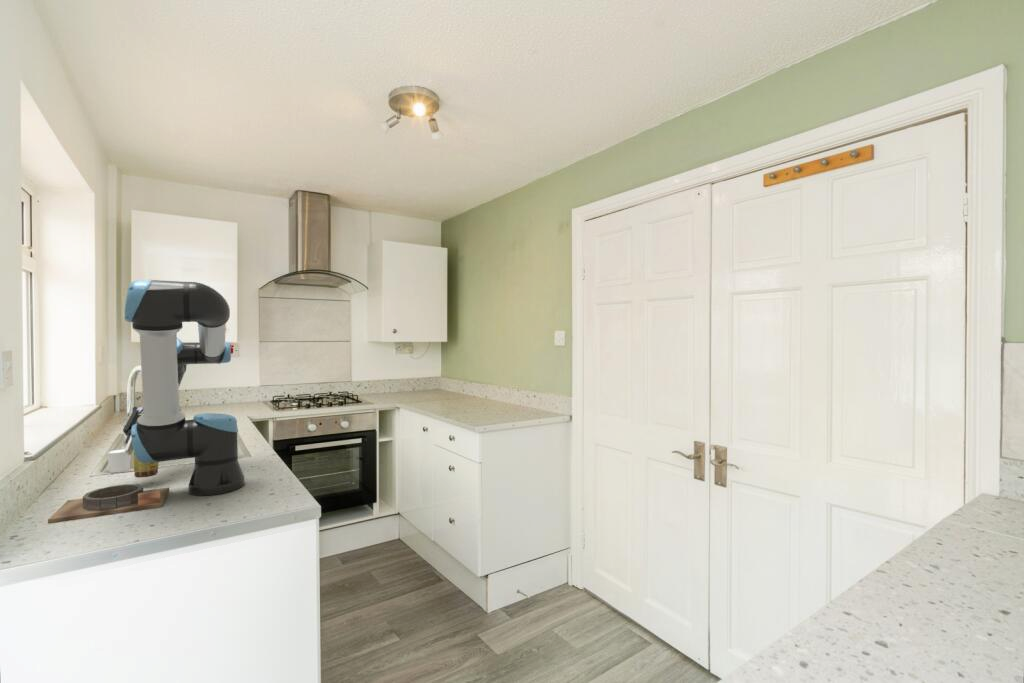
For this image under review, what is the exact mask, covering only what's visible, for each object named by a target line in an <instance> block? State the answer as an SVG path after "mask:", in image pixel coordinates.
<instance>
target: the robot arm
mask: <svg viewBox="0 0 1024 683" xmlns="http://www.w3.org/2000/svg"><path fill="white" fill-rule="evenodd" d="M230 313H231V312H230V306H229V303H228V302H227V300H226V299H225V297H224V296H223V295H222V294H221V293H220V292H218V291H217V289H216V290H215V289H214V288H212V287H210V286H209V285H207V284H204V283H201V282H196V281H178V280H173V281H172V280H160V279H159V280H158V279H144V280H143V279H142V280H141V279H139V280H137V279H136V280H134V281H132V282H131V283H130V284H129V286H128V289H127V294H126V298H125V306H124V320H125V322H127V323H131V325H132V330H134V331H135V332H136V333H138V335H139V346H140V366H141V368H140V370H141V387H142V388H141V389H142V406H140V407H137V406H133V407H132V410H131V411H132V412H131V414H130V416H129V418H128V420H127V422H126V424H125V426H124V427H123V429H122V432H123V433H124V434H125V436H126V439H125V444H126V446H125V448H124V449H125V452H126V453H127V455H131V456H132V453H133V455H134V454H135V457H136V459H137V460H138V461H139V462H142V463H149V462H155V463H158V464H159V463H160V462H167V461H177V460H184V459H194V468H193V471H192V474H191V476H190V479H189V483H188V493H189V494H190V495H192V496H213V495H221V494H225V493H228V492H233V491H236V490H239V489H241V488H243V487H244V485H245V475H244V473H243V470H242V467H241V465H240V462H239V454H238V450H239V448H238V432H239V429H238V422H237V418H236V417H235V416H234V415H230V414H226V413H216V412H215V413H213V412H212V413H211V412H207V413H206V412H204V413H197V414H194V416H193V419H186V414H185V413H184V412H183V411H182V410H181V408H180V401H179V398H180V397H179V388H180V385H181V384H182V381H183V378H184V375H185V373H186V371H187V366H188V365H205V364H206V365H208V364H211V365H212V364H214V365H215V364H217V365H218V364H219V365H221V364H226V363H230V362H231V360H232V348H231V347H232V346H231V344H230V343H229V342H226V328H227V326H226V325H227V324H226V323H228V322H229V319H230ZM190 322H191V323H194V322H195V323H197V327H198V340H199V342H183V341H182V340H181V339H180V338H179V337H177V336H178V335H177V333H179V332H180V331H181V330H182V329H183V328H184V326H183V323H190ZM138 414H142V415H141V416H140V417H139V418H138Z"/></svg>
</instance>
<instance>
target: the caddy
mask: <svg viewBox="0 0 1024 683" xmlns="http://www.w3.org/2000/svg"><path fill="white" fill-rule="evenodd" d="M169 492H170V487H169V486H168V487H162V488H161V487H160V488H154V489H146V490H144V486H143V485H141V484H139V483H138V484H137V483H134V484H133V483H126V484H117V485H116V484H115V485H111V486H110V485H109V486H106V487H102V488H97V489H93V490H91V491H89V492H86V493H85V494H84V495H83V496H82V498H76V499H69V500H66V501H65V502H64V503H63V504H62V505H61V506H60V508H58V509H57V510H56V511H55V512H54V513H53V514H52V515H51V516H50V517H49V518H48V519H47V524H54V523H59V522H66V521H72V520H80V519H88V518H94V517H95V518H96V517H101V516H109V515H116V514H122V513H128V512H136V511H142V510H143V511H144V510H150V509H158V508H162V507H163V505H164V503H165V500H166V498H167V497H168V495H169Z"/></svg>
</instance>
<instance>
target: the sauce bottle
mask: <svg viewBox="0 0 1024 683" xmlns="http://www.w3.org/2000/svg"><path fill="white" fill-rule="evenodd" d="M142 414H143V413H141V414H138V418H139V417H140V416H141V415H142ZM158 470H159V462H158V463H155V462H149V463H142V462H139V461H138V460H137V459H136V457H135V454H134V453H133V472H134V477H135V478H148V477H153V476H156V475H157V474H158V472H159V471H158Z"/></svg>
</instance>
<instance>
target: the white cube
mask: <svg viewBox="0 0 1024 683" xmlns="http://www.w3.org/2000/svg"><path fill="white" fill-rule="evenodd" d="M131 456H132V454H131V455H127V453H126V452H125V448H120V449H114V450H110V451H107V452H106V457H107V458H106V459H107V465H108V472H109V473H111V474H114V472H118V473H123V472H127V471H129V470H130V469H131V460H132V459H131Z"/></svg>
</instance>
